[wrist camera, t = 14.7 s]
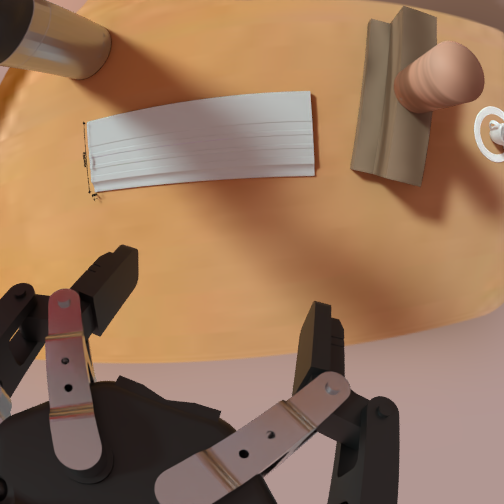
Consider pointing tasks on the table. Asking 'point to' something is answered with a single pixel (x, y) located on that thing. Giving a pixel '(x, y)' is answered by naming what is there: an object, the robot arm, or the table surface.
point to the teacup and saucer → (498, 133)
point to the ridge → (393, 100)
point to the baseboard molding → (203, 141)
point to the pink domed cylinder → (440, 79)
